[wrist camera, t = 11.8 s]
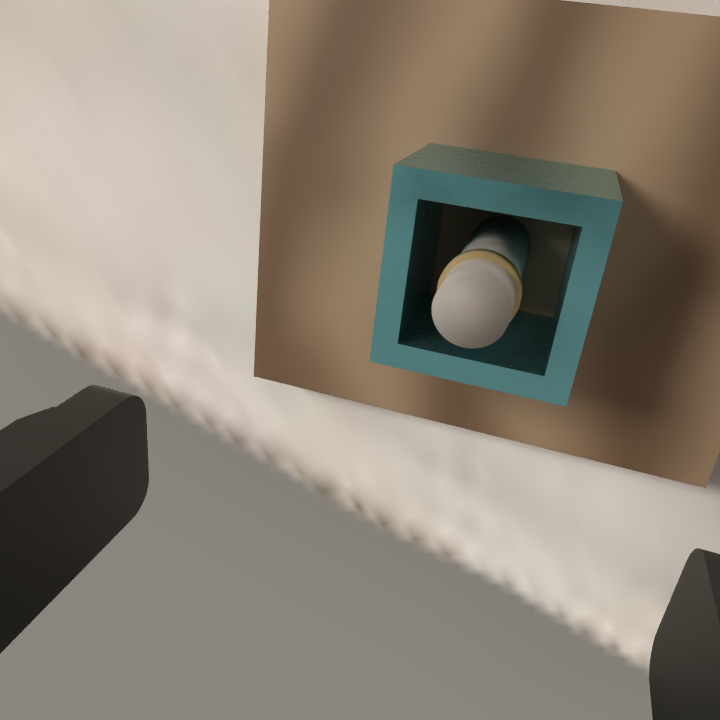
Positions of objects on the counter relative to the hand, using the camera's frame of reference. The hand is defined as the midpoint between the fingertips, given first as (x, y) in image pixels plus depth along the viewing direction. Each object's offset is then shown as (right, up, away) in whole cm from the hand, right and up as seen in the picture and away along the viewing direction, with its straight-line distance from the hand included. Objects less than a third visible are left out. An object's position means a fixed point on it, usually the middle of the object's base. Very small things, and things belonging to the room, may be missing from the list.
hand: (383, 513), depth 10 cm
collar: (+5, +6, +14) cm, 16 cm away
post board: (+5, +7, +15) cm, 18 cm away
